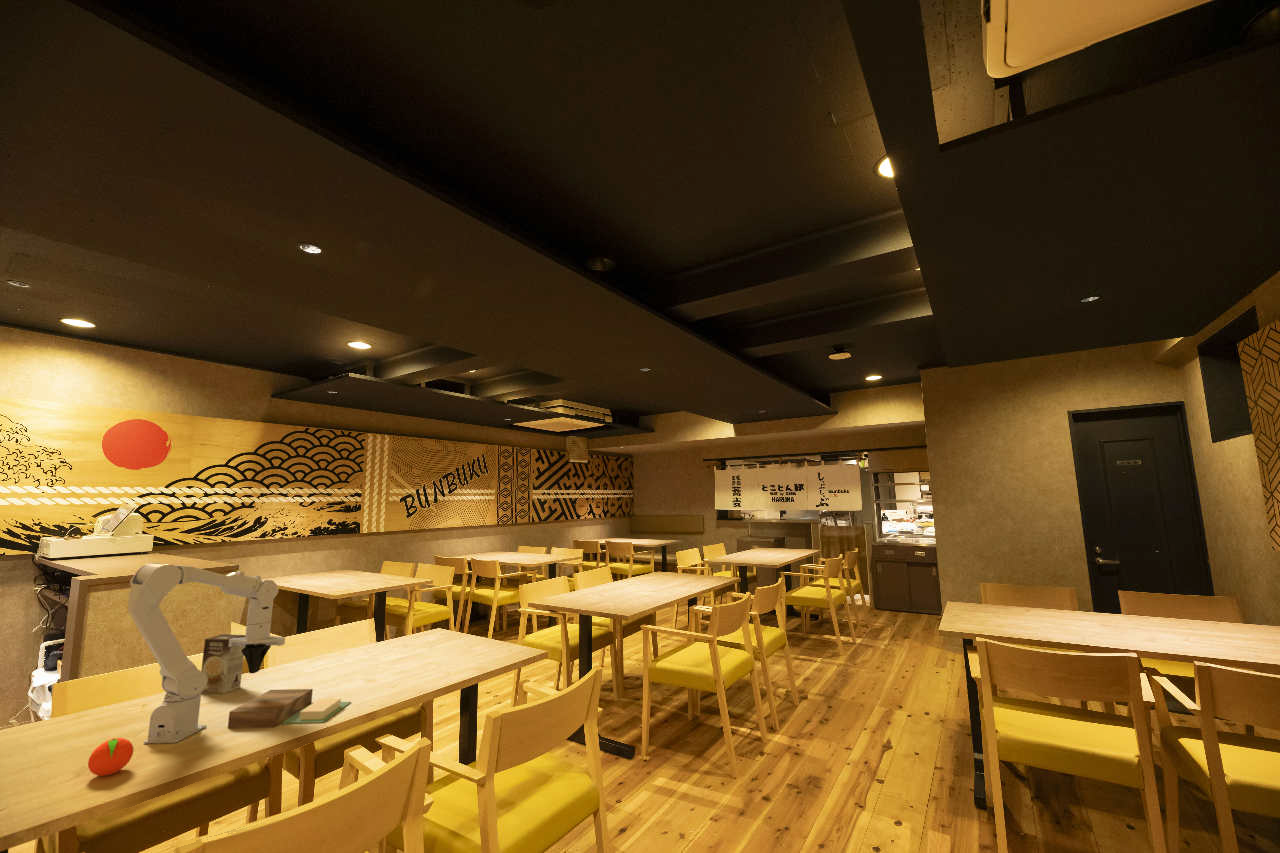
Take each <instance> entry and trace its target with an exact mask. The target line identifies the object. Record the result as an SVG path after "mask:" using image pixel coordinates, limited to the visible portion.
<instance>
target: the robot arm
mask: <svg viewBox="0 0 1280 853" xmlns="http://www.w3.org/2000/svg"><path fill="white" fill-rule="evenodd" d="M189 582H193V583H198V584H204V585H209V586H215V587H219V588H220V591H221V593H223V594H226V595H233V596H237V597H242V598H247V599H248V606H247V607H248V608H247V618H246V628H245V634H244V635H245V637H243V638H233V639H230V640H229V646H228V647H232V646H245V648H244V649H242V653H243V655H244V658H245V661H246V664H247V669H248V674H256V673H258V672H259V671H260V669H261V666H262V664H263V661H264V659H265V657H266V655H267V653H268V651H269V650H270V649H271V646H277V647H281V646H284V645H285V644H286V637H285V636H284V637H283V636H282V637H281V636H273V635H271V628H272V627H271V625H272V618H273V617H272V616H273V607H274V606H273V604H274V600H275V598H276V597H277V595H278V594H279V590H280V589H279V588H278V584H277V583H276V581H274V580H271V579H262V576H259V575H255V576H253V575H248V574H245V571H241V570H238V571H237V572H235V571H233V572H230V573H227V574H221V573H218V572H213V571H209V570H206V569H202V568H199V567H195V566H191V565H190V566H189V565H180V564H179V565H178V564H169V563H168V564H167V563H166V564H163V563H162V564H161V563H159V562H149V563H146V564H144V565H142V566H140V568H138V570H137V571H136V572H135V573H134V574H133V576H132V577H131V579H130V581H129V584H130V590H129V591H130V592H129V596H128V602H127V606H126V609H127V612H128V614H129V615H130V617H131V619H132V620H133V622H134V624H135V625H136V627H137V629H138V631H139V634H141V637H142V638H143V640H144V641H145V643H146V644H147V646H148V648H149V650H150V652H151V653H152V655H153V656H154V658H155V660H156V662H157V664H158V665H159V667H160V670H159V675H160V676H161V688H162V689H163V691H164V692H165V694H164V697H163V702H162V703H161V704H160V705H159V706H157V707H156V708H155V709H154V710H153V711H152V713H151V715H150V718H149V719H150V720H149V725H148V732H147V733H148V734H147V735H148V736H147V739H145V740H144V741H143V744H167V743H168V744H171V743H179V742H181V741H182V740H184V739H186V738H188V737H189V736H192V735H193V734H194V733H197V732H199V731H201V730H203V729H205V728H206V727H207V724H199V716H200V708H201V707H200V706H201V701H202V700H201V698H202V693H201V692H202V691H203V689H204V688H205V687H206V685H207V681H208V678H207V675H206V674H205V673H204V672H202V671H201V669H198V667H197V665H196V664H195V663H193V661H192V660H190V659H189V657H188V656H187V654H186V653H185V651H184V649H183V647H182V646H181V644H180V641H178V639H177V637H176V635H175V633H174V631H173V630H172V628H171V626H170V625H169V623H168V621H167V618H166V617H165V616H164V614H163V612H162V610H161V608H160V604H161V603H162V601H163V599H164V598H165V597H166V596H167V595H168V594H169V593H170V592H171V591H172V590H173V589H174V588H176V587H177V585H184V584H187V583H189Z"/></svg>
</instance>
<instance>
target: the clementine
mask: <svg viewBox="0 0 1280 853" xmlns="http://www.w3.org/2000/svg"><path fill="white" fill-rule="evenodd" d="M133 754H134V746H133V744H132V742H131V741H130V740H129V739H126V738H123V737H118V738H112V739H109V740H106V741H104V742H103V743H100V745H98V746H97V747H96V748H95V749H94V750H93V751H92V753H91V754H90V756H89V759H88V760H87V767H88V769H89V771H90V772H91V773H92V774H93V775H95V776H97V777H98V776H100V777H105V776H110V775H113V774H115V773H117V772H119V771H120V770H122V769H123V768H125V767H126V766H127V764H128V763H129V762H130V761H131V759H132V757H133Z"/></svg>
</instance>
